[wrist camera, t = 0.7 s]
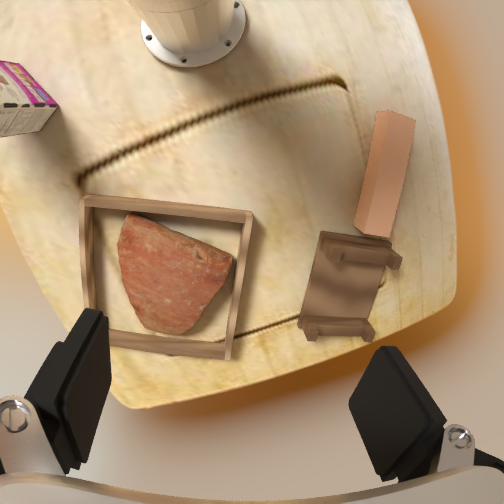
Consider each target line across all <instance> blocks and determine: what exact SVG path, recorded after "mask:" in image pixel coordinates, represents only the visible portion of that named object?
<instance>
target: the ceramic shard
mask: <svg viewBox="0 0 504 504" xmlns="http://www.w3.org/2000/svg"><path fill="white" fill-rule="evenodd" d="M117 247H118V255H119V263H120V267H121V273H122V281H123V285H124V287H125V290H126V293H127V295H128V297H129V300H130V303H131V305H132V306H133V308H134V310H135V313H136V315H137V317H138V318H139V320H140V322H141V323H142V324H143V326H144V327H145V328H147V329H149V330H152V331H155V332H159V333H164V334H174V335H179V334H183V333H185V332H187V331H189V330H190V329H191V328H192V327H193V326H194V325H195V323H196V322H197V321H198V320H199V318H200V316H201V315H202V313H203V311H204V309H205V307H206V306H207V305H208V304H209V303H210V302H211V300H212V299H213V297H214V296H215V295H216V294H217V292H218V291H219V290H220V288H221V287H222V286H223V284H224V282H225V280H226V277H227V274H228V272H229V270H230V269H231V266H232V258H233V256H232V255H231V254H229V253H227V252H225V251H222V250H220V249H218V248H216V247H213V246H211V245H209V244H206V243H204V242H201V241H199V240H197V239H194V238H192V237H189V236H186V235H184V234H182V233H180V232H176V231H173V230H170V229H168V228H166V227H164V226H163V225H161V224H158V223H156V222H154V221H152V220H149V219H147V218H144V217H142V216H140V215H138V214H134V213H130V214H128V215H127V216H126V219H125V221H124V223H123V225H122V228H121V234H120V237H119V240H118V243H117Z"/></svg>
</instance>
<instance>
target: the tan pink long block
mask: <svg viewBox="0 0 504 504" xmlns="http://www.w3.org/2000/svg"><path fill="white" fill-rule="evenodd" d="M415 123H416V120H414V119H411V118H409V117H406V116H404V115H401V114H398V113H395V112H393V111H377V114H376V120H375V125H374V131H373V136H372V142H371V147H370V152H369V157H368V162H367V166H366V171H365V176H364V180H363V185H362V189H361V193H360V198H359V202H358V206H357V210H356V214H355V218H354V222H353V225H354V226H355V227H356V228H358V229H359V230H360V231H361V232H363V233H364V234H370V235H376V236H382V237H388V238H389V237H390V233H391V229H392V226H393V222H394V219H395V215H396V211H397V207H398V203H399V199H400V195H401V191H402V187H403V183H404V178H405V174H406V169H407V165H408V160H409V155H410V150H411V145H412V140H413V134H414V129H415Z"/></svg>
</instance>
